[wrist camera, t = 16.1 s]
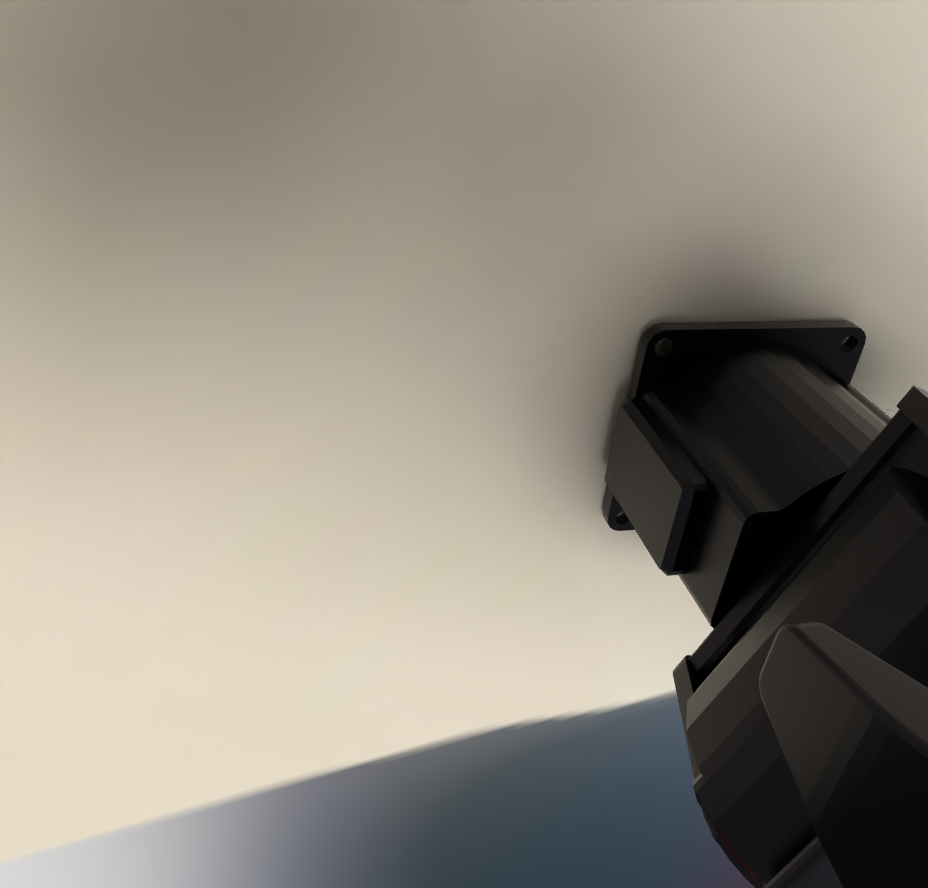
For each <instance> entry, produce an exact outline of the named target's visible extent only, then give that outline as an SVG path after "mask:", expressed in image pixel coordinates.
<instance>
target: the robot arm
mask: <svg viewBox="0 0 928 888" xmlns="http://www.w3.org/2000/svg"><path fill="white" fill-rule="evenodd" d="M848 336H849V338H848V339H847V341H846V342H845V343H844V344H842V345H841V343H842V341H843V340H844V339H845V338H846V337H848ZM666 338H667V341H666V343H665V345H664V346H663V347H662V348H660V349H656V350H655V346H656V344H657V343H658V342H659V341H660V340H662V339H666ZM865 340H866V335H865V332H864V331H863V330H862V329H861V328H859V327H858V326H857V325H855V324H854V323H852V322H849V321H805V322H720V323H660V324H655V325H653V326H651V327H650V328H648V329H647V330H646V331H645V333H644V334H643V335H642V338H641V340H640V344H639V348H638V353H637V357H636V362H635V366H634V371H633V375H632V380H631V384H630V389H629V394H628V398H627V399H626V400H625V401H624V403H623V404H622V405H621V407H620V410H619V414H618V419H617V423H616V428H615V433H614V437H613V442H612V447H611V451H610V456H609V460H608V465H607V470H606V474H605V481H606V483H607V485H608V489H607V493H606V498H605V502H604V507H603V516H604V518H605V520H606V521H607V523H608V525H609V527H610V528H612V529H613V530H618V531H624V530H636V532H637V533H638V535H639V537H640V538H641V540H642V541H643V543H644V545H645V546H646V548H647V550H648V551H649V553H650V554H651V556H652V558H653V559H654V561H655V563H656V564H657V566H658V567H659V568H660V569H661V570H662V571H663V572H664V573H665V574H666V575H667V576H670V575H679V576H680V578H681V580H682V581H683V583H684V584H685V586H686V587H687V589H688V591H689V592H690V594H691V595H692V597H693V598H694V600H695V602H696V603H697V605H698V606H699V608H700V609H701V611H702V613H703V614H704V616H705V617H706V619H707V620H708V622H709V624H710V625H711V626H712V627H713V628H714V630H713V631H712V632H711V633H710V634H709V635H708V637H707V638H706V639H705V640H704V641H703V643H702V644H701V645H700V646H699V647H698V648H697V650H696V651H695V652H694V653H693V654H692V656H691V655H687V656H685V657H684V659H683V660H682V661H681V662H680V663H679V664H678V666H677V667H676V668H675V669H674V670H673V677H674V682H675V687H676V692H677V696H678V701H679V706H680V711H681V715H682V720H683V726H684V730H685V735H686V740H687V745H688V750H689V755H690V759H691V764H692V769H693V774H694V779H695V780H694V782H693V788H694V792H695V796H696V800H697V802H698V803H699V805H700V807H701V809H702V811H703V814H704V818H705V820H706V822H707V824H708V826H709V828H710V830H711V833H712V836H713V837H714V839H715V840H716V842H717V843H718V844H719V845H720V846H721V848H722V849H723V851H724V852H725V854H726V855H727V857H728V858H729V860H730V861H731V862H732V863H733V864H734V865H735V866H736V868H737V869H738V870H739V871H740V872H741V873H742V874H743V876H744V877H745V878H746V879H747V880H748V881H749V882H750V883H751V884H752V885H753V886H754V887H755V888H928V392H926V391H924V390H922V389H920V388H918V387H916V386H913V387H912V388H911V389H910V390H909V391H908V393H907V394H906V395H905V396H904V397H903V399H902V400H901V401H900V402H899V403H898V405H897V407H898V408H899V409H900V410H899V411H898V412H897V413H896V414H895V416H894V417H893V418H892V419H891V418H890V417H889V416H887V415H886V414H885V413H884V412H883V411H881V410H880V409H879V408H878V407H876V406H875V405H874V404H873V403H872V402H870V401H869V400H868V399H867V398H865V397H864V396H863V395H862V394H861V393H859V392H858V391H857V390H856V389H854V388H853V387H852V386H851V385H850V382H851V379H852V376H853V374H854V371H855V368H856V366H857V363H858V361H859V358H860V355H861V353H862V350H863V347H864V345H865ZM621 511H624V513H623V514H622V515H619V516H617V514H618V513H619V512H621Z"/></svg>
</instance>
